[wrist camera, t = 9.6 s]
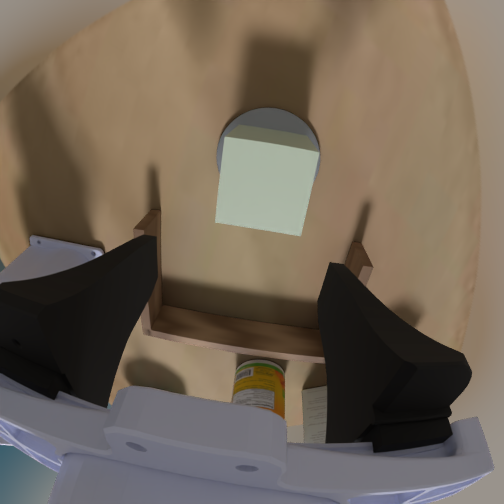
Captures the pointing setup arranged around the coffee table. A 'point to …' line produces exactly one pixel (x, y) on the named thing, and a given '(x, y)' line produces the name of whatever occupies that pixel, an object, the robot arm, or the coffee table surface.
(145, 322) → the brown wooden u-shaped frame
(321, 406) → the small box
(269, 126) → the coaster
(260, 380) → the supplement bottle
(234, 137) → the block
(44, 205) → the coffee table surface
